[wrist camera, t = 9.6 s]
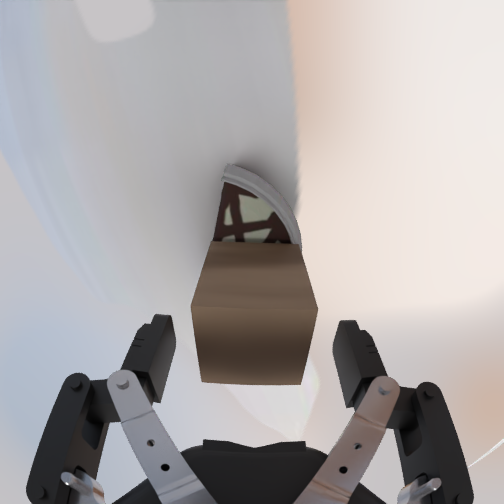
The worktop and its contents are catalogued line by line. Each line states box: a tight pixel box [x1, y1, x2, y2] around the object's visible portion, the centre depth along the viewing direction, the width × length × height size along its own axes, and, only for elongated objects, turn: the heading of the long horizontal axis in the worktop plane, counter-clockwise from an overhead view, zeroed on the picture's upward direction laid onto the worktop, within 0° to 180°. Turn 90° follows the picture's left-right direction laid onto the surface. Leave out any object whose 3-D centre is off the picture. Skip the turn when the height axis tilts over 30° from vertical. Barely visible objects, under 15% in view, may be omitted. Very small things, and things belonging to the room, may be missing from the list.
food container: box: [213, 164, 302, 253], centre depth 22 cm, size 12×6×10 cm, turn 167°
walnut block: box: [191, 241, 318, 385], centre depth 15 cm, size 5×5×6 cm
